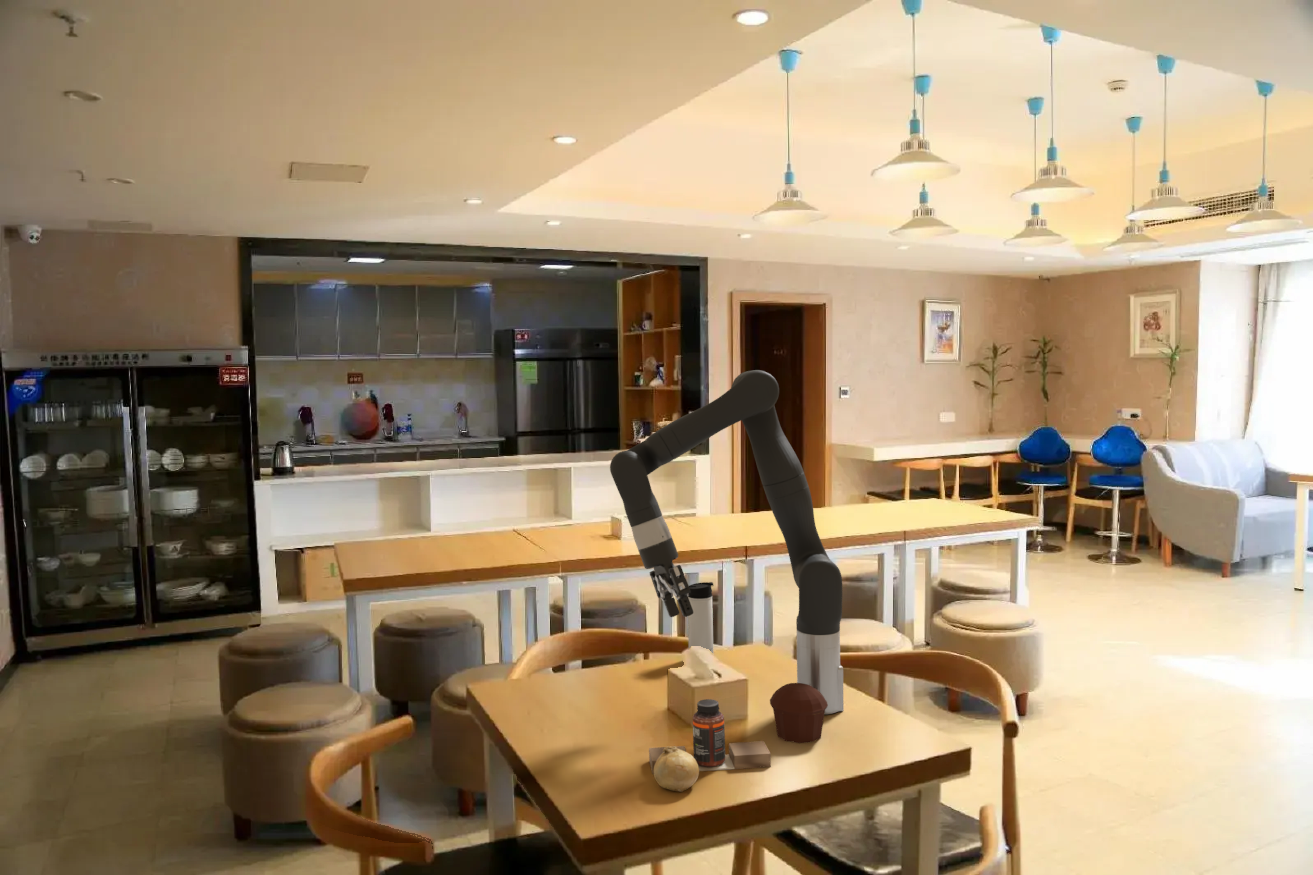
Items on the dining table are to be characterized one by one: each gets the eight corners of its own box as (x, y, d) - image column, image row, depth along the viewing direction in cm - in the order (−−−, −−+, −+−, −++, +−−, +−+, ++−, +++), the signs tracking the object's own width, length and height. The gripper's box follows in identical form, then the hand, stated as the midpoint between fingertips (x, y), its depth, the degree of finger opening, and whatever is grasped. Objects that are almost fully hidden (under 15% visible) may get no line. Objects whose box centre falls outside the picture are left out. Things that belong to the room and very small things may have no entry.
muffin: (839, 734, 188) (839, 685, 188) (806, 750, 181) (806, 699, 180) (791, 720, 197) (791, 673, 196) (758, 734, 189) (757, 686, 188)
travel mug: (715, 664, 236) (714, 585, 235) (689, 664, 236) (687, 586, 235) (714, 656, 242) (712, 580, 241) (688, 657, 242) (687, 580, 241)
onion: (694, 775, 171) (694, 737, 170) (703, 794, 163) (702, 754, 162) (651, 779, 170) (650, 740, 169) (657, 798, 162) (656, 758, 161)
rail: (763, 753, 179) (763, 741, 179) (770, 766, 173) (770, 753, 173) (649, 761, 177) (649, 748, 177) (652, 774, 171) (652, 760, 171)
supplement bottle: (729, 757, 177) (728, 698, 177) (720, 770, 172) (719, 709, 171) (698, 753, 179) (697, 695, 179) (689, 766, 174) (688, 706, 173)
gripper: (681, 533, 190) (709, 608, 189) (659, 538, 204) (685, 609, 203) (648, 545, 188) (677, 622, 187) (628, 550, 201) (655, 622, 200)
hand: (681, 615), depth 195 cm, fingers open, 8 cm apart
